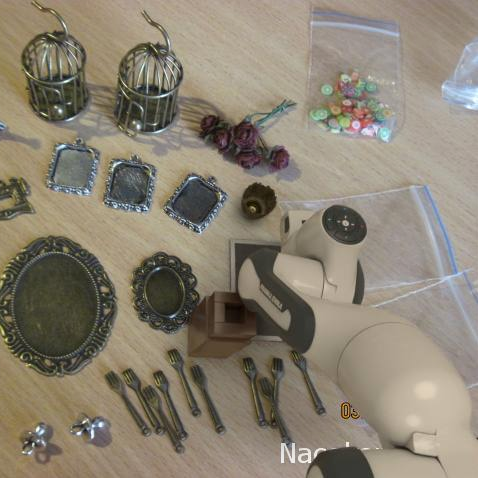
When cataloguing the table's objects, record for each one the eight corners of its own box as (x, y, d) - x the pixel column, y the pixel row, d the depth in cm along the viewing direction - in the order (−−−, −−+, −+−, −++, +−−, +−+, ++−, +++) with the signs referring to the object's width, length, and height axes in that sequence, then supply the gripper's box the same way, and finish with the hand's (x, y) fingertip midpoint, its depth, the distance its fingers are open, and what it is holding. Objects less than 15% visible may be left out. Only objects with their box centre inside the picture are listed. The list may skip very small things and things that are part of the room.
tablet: (305, 343, 116) (307, 342, 115) (230, 339, 115) (231, 338, 114) (299, 244, 123) (301, 242, 122) (229, 239, 122) (230, 238, 121)
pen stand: (226, 358, 113) (259, 338, 90) (187, 356, 112) (211, 336, 89) (225, 320, 116) (258, 290, 92) (188, 318, 115) (211, 287, 92)
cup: (271, 205, 126) (282, 190, 118) (260, 232, 123) (270, 219, 116) (241, 192, 126) (250, 176, 119) (229, 218, 124) (238, 204, 116)
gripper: (329, 315, 93) (301, 330, 106) (320, 204, 100) (295, 230, 113) (293, 313, 93) (269, 328, 106) (287, 201, 99) (265, 228, 112)
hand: (282, 277), depth 109 cm, fingers closed
